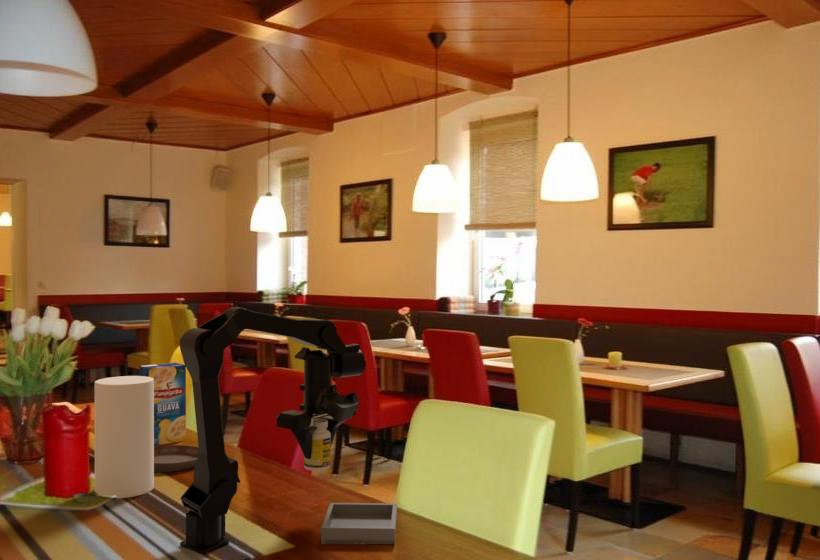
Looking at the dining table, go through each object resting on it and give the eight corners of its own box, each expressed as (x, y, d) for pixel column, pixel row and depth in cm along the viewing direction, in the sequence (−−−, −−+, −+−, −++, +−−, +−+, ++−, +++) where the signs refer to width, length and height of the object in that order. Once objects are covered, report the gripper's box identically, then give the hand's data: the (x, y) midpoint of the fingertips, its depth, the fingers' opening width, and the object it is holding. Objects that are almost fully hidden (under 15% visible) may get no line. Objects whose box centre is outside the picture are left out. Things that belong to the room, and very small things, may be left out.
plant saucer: (203, 453, 193) (203, 441, 192) (209, 470, 176) (209, 458, 176) (133, 458, 186) (133, 447, 186) (133, 478, 170) (133, 465, 170)
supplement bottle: (325, 472, 142) (326, 423, 142) (300, 470, 143) (300, 422, 143) (333, 464, 147) (334, 418, 147) (308, 463, 148) (309, 416, 148)
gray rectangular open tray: (394, 544, 130) (394, 528, 130) (321, 543, 130) (321, 527, 130) (396, 518, 143) (396, 503, 143) (330, 517, 144) (330, 502, 144)
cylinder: (147, 497, 155) (147, 384, 154) (87, 499, 153) (87, 385, 153) (159, 480, 167) (158, 375, 167) (103, 482, 166) (103, 376, 165)
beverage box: (139, 442, 202) (139, 365, 202) (175, 436, 210) (175, 362, 209) (149, 446, 197) (149, 368, 197) (186, 440, 205) (186, 365, 204)
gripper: (317, 390, 133) (317, 473, 133) (376, 378, 148) (375, 451, 148) (274, 384, 139) (274, 463, 139) (335, 373, 154) (334, 444, 155)
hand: (317, 455), depth 145 cm, fingers closed on supplement bottle, 5 cm apart
